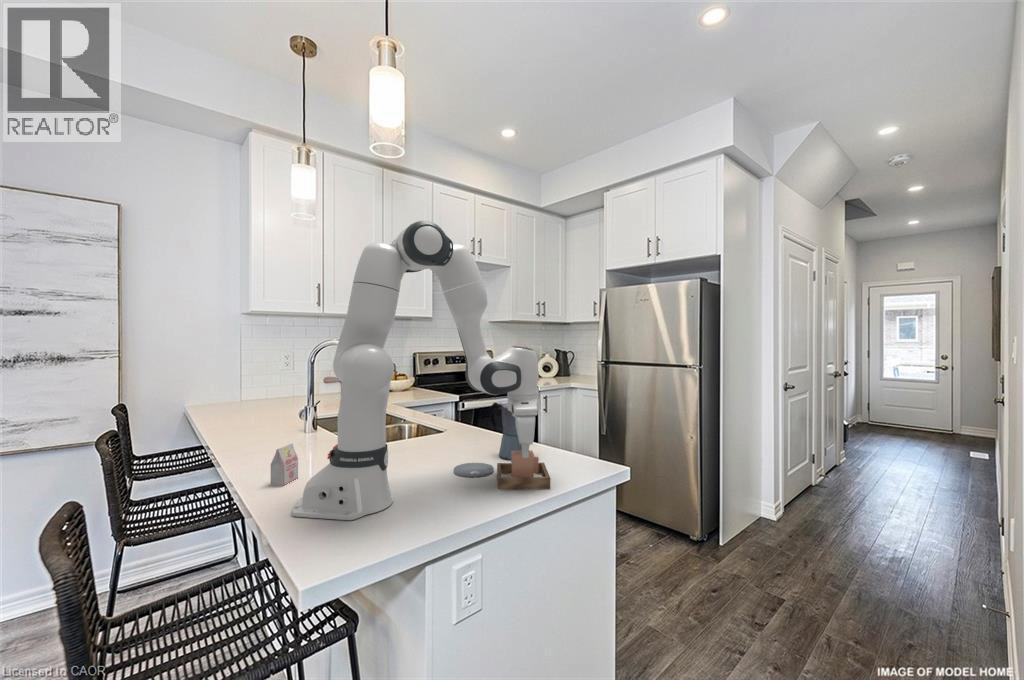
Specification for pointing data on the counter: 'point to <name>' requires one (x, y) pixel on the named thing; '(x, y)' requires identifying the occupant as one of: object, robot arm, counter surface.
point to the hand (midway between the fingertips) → (523, 452)
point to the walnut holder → (522, 478)
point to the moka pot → (506, 431)
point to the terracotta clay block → (523, 464)
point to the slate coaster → (473, 470)
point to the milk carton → (284, 466)
